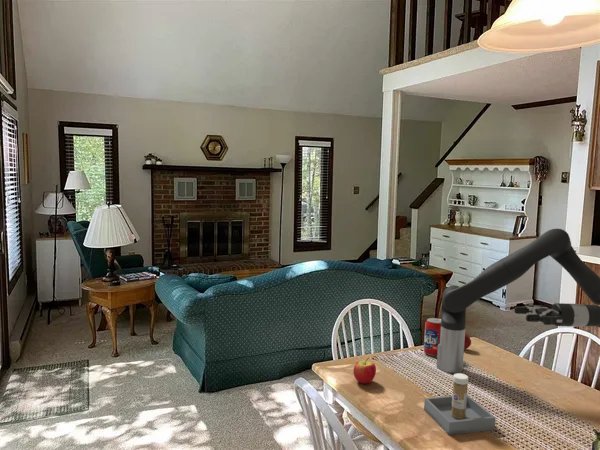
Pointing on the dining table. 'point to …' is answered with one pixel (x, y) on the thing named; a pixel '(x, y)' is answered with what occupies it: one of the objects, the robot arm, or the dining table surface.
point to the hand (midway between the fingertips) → (520, 313)
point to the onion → (467, 341)
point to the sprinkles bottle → (459, 396)
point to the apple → (364, 371)
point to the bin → (473, 421)
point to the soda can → (432, 336)
